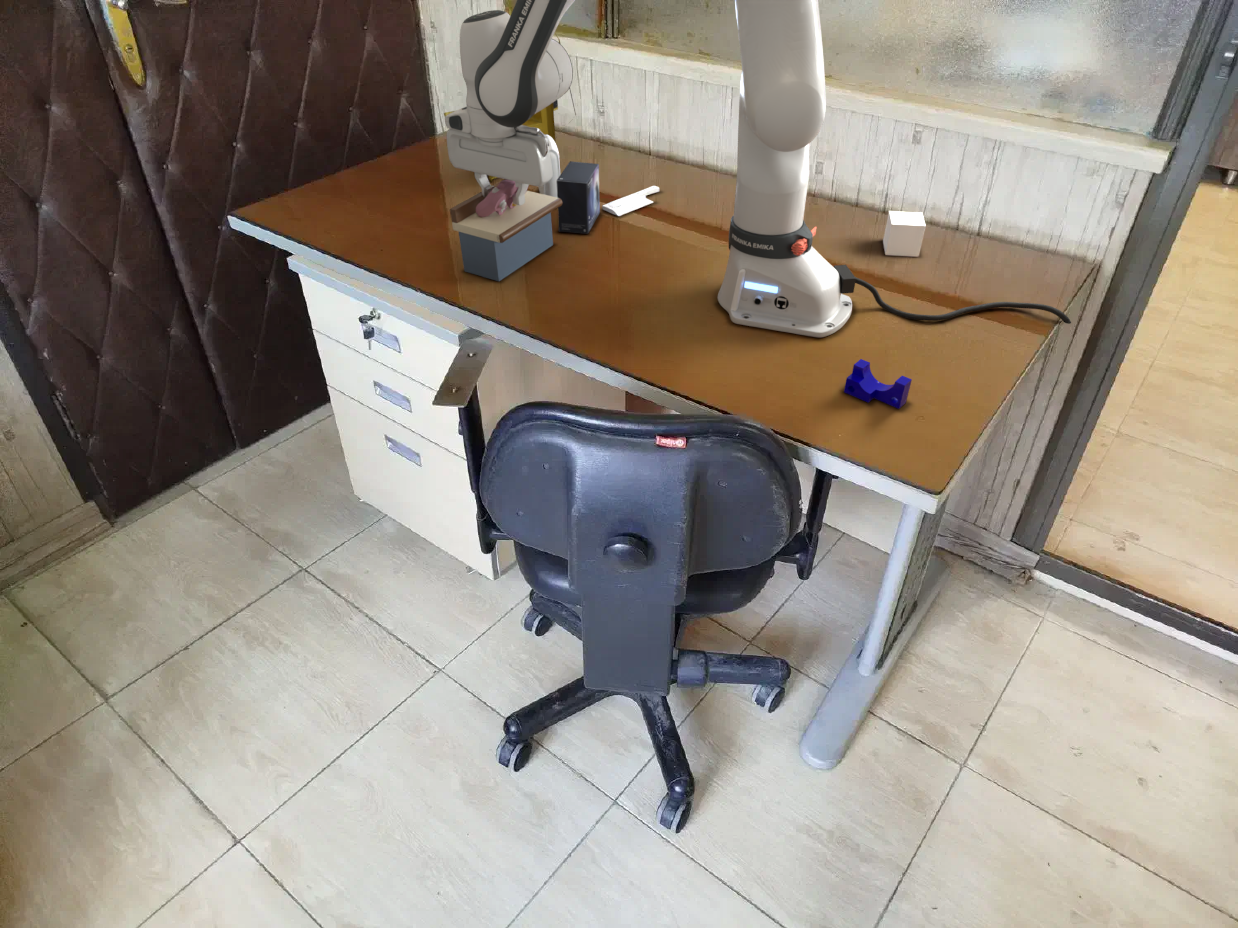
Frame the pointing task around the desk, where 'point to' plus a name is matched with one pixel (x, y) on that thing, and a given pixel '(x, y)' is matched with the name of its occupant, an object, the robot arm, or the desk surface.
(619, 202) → the white plastic blade
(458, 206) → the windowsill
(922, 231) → the white cube
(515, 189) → the video game controller
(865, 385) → the cable holder
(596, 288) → the desk surface
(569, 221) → the small box
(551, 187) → the photo printer
